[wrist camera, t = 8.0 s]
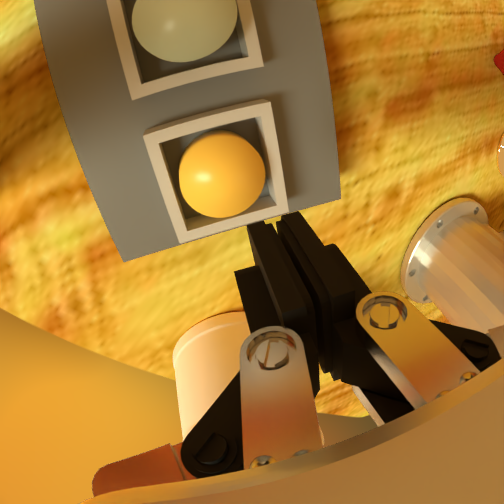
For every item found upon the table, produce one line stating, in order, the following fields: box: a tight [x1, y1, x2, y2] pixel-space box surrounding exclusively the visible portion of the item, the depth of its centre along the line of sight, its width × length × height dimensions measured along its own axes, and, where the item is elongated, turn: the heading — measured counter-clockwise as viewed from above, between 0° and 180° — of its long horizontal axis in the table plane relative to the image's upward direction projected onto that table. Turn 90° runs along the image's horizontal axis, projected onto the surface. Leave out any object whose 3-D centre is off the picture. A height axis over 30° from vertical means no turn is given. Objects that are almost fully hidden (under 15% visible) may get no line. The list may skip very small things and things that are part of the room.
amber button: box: [179, 130, 265, 218], centre depth 16 cm, size 4×4×2 cm
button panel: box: [34, 0, 341, 262], centre depth 13 cm, size 14×24×4 cm, turn 11°
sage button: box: [132, 0, 237, 62], centre depth 10 cm, size 4×4×2 cm
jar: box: [173, 311, 324, 444], centre depth 24 cm, size 12×10×15 cm
